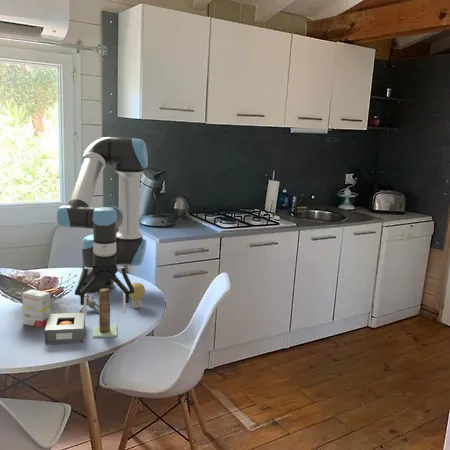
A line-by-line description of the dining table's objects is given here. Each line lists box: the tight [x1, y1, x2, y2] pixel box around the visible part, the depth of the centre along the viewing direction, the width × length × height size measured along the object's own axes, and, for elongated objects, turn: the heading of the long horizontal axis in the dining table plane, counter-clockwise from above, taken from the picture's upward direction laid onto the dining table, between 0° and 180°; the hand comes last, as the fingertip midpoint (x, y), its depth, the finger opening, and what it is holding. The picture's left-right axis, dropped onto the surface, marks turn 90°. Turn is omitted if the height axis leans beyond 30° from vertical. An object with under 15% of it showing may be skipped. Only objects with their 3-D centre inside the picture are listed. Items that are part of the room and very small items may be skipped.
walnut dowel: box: [98, 289, 111, 333], centre depth 169 cm, size 4×4×15 cm
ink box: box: [21, 288, 52, 329], centre depth 173 cm, size 9×5×12 cm, turn 72°
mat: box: [92, 324, 118, 339], centre depth 171 cm, size 8×8×1 cm
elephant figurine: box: [78, 292, 99, 314], centre depth 187 cm, size 10×6×9 cm
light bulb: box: [129, 282, 146, 309], centre depth 192 cm, size 6×6×10 cm
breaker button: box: [60, 321, 72, 325], centre depth 167 cm, size 4×4×3 cm
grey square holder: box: [44, 312, 86, 345], centre depth 167 cm, size 13×12×5 cm
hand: (104, 312), depth 169 cm, fingers open, 12 cm apart
